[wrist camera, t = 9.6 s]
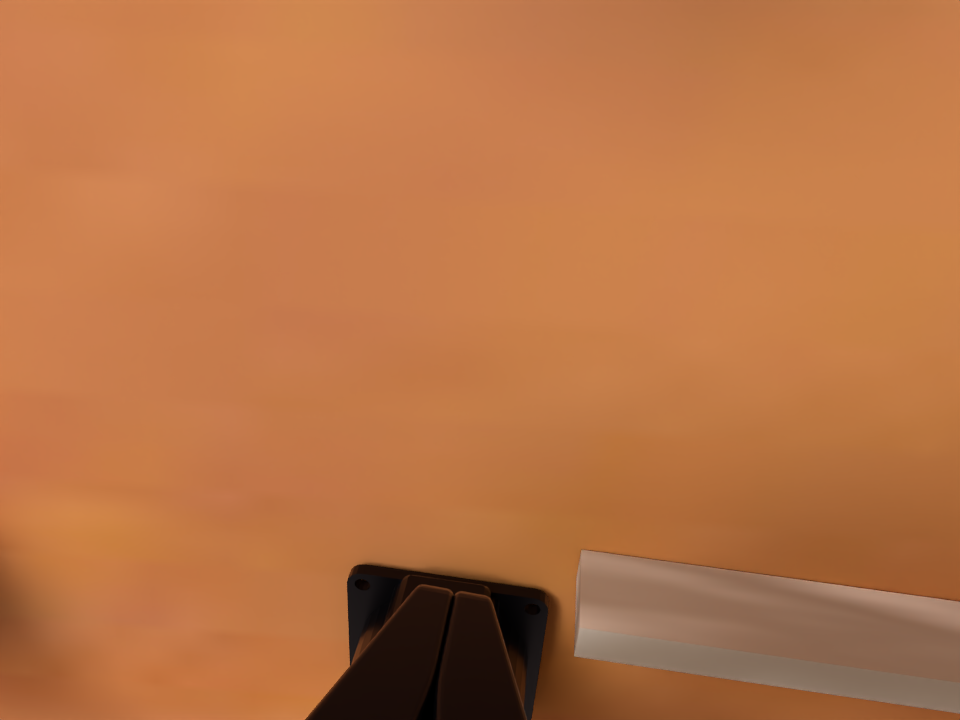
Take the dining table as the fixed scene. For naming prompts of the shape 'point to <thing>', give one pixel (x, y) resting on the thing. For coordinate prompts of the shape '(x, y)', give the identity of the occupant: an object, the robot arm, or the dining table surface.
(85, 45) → the dining table surface
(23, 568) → the dining table surface
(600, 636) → the white rectangular frame
